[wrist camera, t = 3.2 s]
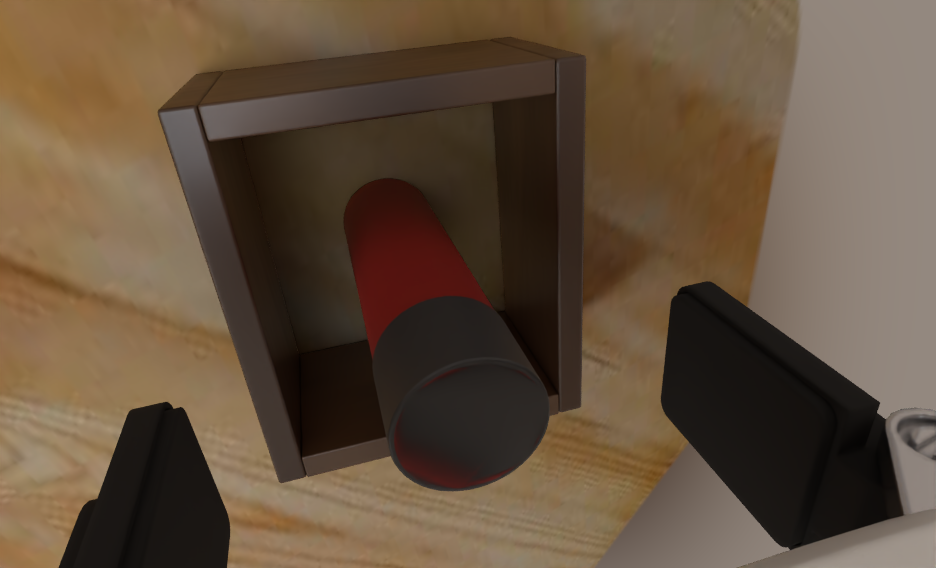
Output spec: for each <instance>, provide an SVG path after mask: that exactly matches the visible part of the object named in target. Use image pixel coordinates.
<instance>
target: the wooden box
mask: <svg viewBox="0 0 936 568" xmlns="http://www.w3.org/2000/svg"><path fill="white" fill-rule="evenodd" d="M585 98H586V57H585V56H584V55H581V54H577V53H573V52H569V51H565V50H561V49H557V48H553V47H549V46H544V45H540V44H536V43H532V42H528V41H524V40H520V39H516V38H512V37H506V38H498V39H492V40H490V41H489V40H480V41H472V42H463V43H455V44H447V45H438V46H430V47H421V48H413V49H404V50H396V51H388V52H379V53H371V54H362V55H354V56H345V57H337V58H329V59H320V60H312V61H303V62H295V63H286V64H278V65H270V66H261V67H253V68H244V69H236V70H227V71H224V72H223V73H222V72H220V71H219V72H211V73H203V74H196V75H195V76H194V77H193V78H191V79H190V80H189V81H188V82H187V83H186V84H185V85H184V86H183V87H182V88H181V89H180V90H179V91H178V92H177V93H176V94H175V95H174V96H173V97H172V98H171V99H169V100H168V101H167V102H166V103H165V104H164V105H163V106H162V107H161V108H160V109H159V110H158V116H159V119H160V122H161V125H162V128H163V131H164V134H165V137H166V141H167V144H168V147H169V150H170V153H171V156H172V159H173V162H174V165H175V168H176V171H177V174H178V177H179V180H180V183H181V186H182V189H183V192H184V195H185V198H186V201H187V204H188V207H189V210H190V213H191V216H192V219H193V222H194V225H195V228H196V231H197V234H198V237H199V241H200V244H201V247H202V250H203V253H204V256H205V259H206V262H207V265H208V268H209V271H210V274H211V277H212V280H213V283H214V286H215V289H216V292H217V295H218V298H219V301H220V304H221V307H222V310H223V313H224V316H225V319H226V322H227V325H228V328H229V331H230V334H231V337H232V340H233V344H234V347H235V350H236V353H237V356H238V359H239V362H240V365H241V368H242V371H243V374H244V377H245V380H246V383H247V386H248V389H249V392H250V395H251V398H252V401H253V404H254V407H255V410H256V413H257V416H258V419H259V422H260V425H261V428H262V431H263V434H264V437H265V440H266V443H267V447H268V450H269V453H270V456H271V459H272V462H273V465H274V468H275V471H276V474H277V477H278V480H279V482H280V483H284V482H288V481H292V480H296V479H300V478H304V477H306V475H307V476H308V477H310V476H314V475H318V474H321V473H325V472H329V471H333V470H337V469H341V468H345V467H349V466H353V465H357V464H361V463H365V462H369V461H373V460H377V459H381V458H385V457H389V456H391V455H390V452H389V448H388V443H387V439H386V434H385V429H384V424H383V419H382V414H381V410H380V405H379V400H378V395H377V390H376V386H375V381H374V376H373V368H372V363H373V360H372V355H371V351H370V346H369V341H368V340H367V341H362V342H357V343H353V344H348V345H343V346H339V347H334V348H329V349H324V350H320V351H315V352H310V353H306V354H301V355H300V357H299V353H298V349H297V346H296V342H295V338H294V334H293V331H292V327H291V323H290V319H289V316H288V312H287V308H286V305H285V301H284V297H283V293H282V290H281V286H280V282H279V278H278V275H277V271H276V267H275V264H274V260H273V256H272V252H271V249H270V245H269V241H268V237H267V234H266V230H265V226H264V223H263V219H262V215H261V211H260V208H259V204H258V200H257V197H256V193H255V189H254V185H253V182H252V178H251V174H250V170H249V167H248V163H247V159H246V156H245V152H244V148H243V144H242V141H241V138H243V137H250V136H257V135H264V134H271V133H278V132H285V131H293V130H300V129H307V128H314V127H321V126H328V125H335V124H342V123H349V122H357V121H364V120H371V119H378V118H385V117H392V116H399V115H406V114H414V113H421V112H428V111H435V110H442V109H449V108H456V107H463V106H471V105H478V104H485V103H492V102H493V114H494V130H495V147H496V164H497V181H498V197H499V214H500V231H501V248H502V264H503V281H504V298H505V312H504V311H503V312H498V314H499V315H500V317H501V318H502V319H503V321H504V322H505V324H506V325H507V327H508V329H509V330H510V332H511V333H512V335H513V337H514V338H515V340H516V341H517V343H518V345H519V346H520V348H521V349H522V351H523V352H524V354H525V356H526V357H527V359H528V360H529V362H530V364H531V365H532V367H533V368H534V370H535V372H536V373H537V375H538V376H539V378H540V380H541V381H542V383H543V384H544V387H545V389H546V391H547V394H548V398H549V404H550V415H549V416H551V415H555V414H558V413H559V412H564V411H568V410H572V409H576V408H580V407H581V379H582V309H583V239H584V168H585Z"/></svg>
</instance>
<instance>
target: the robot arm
mask: <svg viewBox="0 0 936 568" xmlns="http://www.w3.org/2000/svg"><path fill="white" fill-rule="evenodd" d="M661 404H662V408H663V410H664V412H665V414H666V416H667V417H668V418H669V419H670V421H671V422H672V423H673V424H674V425H675V426H676V428H677V429H678V430H679V431H680V432H681V433H682V434H683V436H684V437H685V438H686V439H687V440H688V441H689V443H690V444H691V445H692V446H693V447H694V448H695V449H696V451H697V452H698V453H699V454H700V455H701V456H702V458H703V459H704V460H705V461H706V462H707V463H708V464H709V466H710V467H711V468H712V469H713V470H714V471H715V472H716V474H717V475H718V476H719V477H720V478H721V479H722V481H723V482H724V483H725V484H726V485H727V486H728V488H729V489H730V490H731V491H732V492H733V493H734V494H735V495H736V497H737V498H738V499H739V500H740V501H741V502H742V504H743V505H744V506H745V507H746V508H747V509H748V511H749V512H750V513H751V514H752V515H753V516H754V517H755V519H756V520H757V521H758V522H759V523H760V524H761V526H762V527H763V528H764V529H765V530H766V531H767V532H768V534H769V535H770V536H771V537H772V538H773V539H774V541H776V543H778V544H779V545H780V546H782V547H788V548H789V549H790V550H789V551H786V552H783V553H780V554H777V555H775V556H772V557H768V558H765V559H763V560H760V561H756V562H753V563H750V564H748V565H744V566H741V567H738V568H936V411H935V410H931V409H921V408H908V409H900V410H898V411H895V412H893V413H891V414H890V416H889V417H888V418H887V419H884V418H883V417H882V416H880V415H879V414H878V413H877V410H878V408H879V404H880V402H879V401H877V400H876V399H874V398H873V397H872V396H870V395H869V394H867V393H866V392H865V391H863V390H862V389H860V388H859V387H858V386H856V385H855V384H854V383H852V382H851V381H849V380H848V379H847V378H845V377H844V376H842V375H841V374H839V373H838V372H837V371H835V370H834V369H833V368H831V367H830V366H828V365H827V364H826V363H824V362H823V361H821V360H820V359H819V358H817V357H816V356H814V355H813V354H812V353H810V352H809V351H807V350H806V349H805V348H803V347H802V346H801V345H799V344H798V343H796V342H795V341H794V340H792V339H791V338H789V337H788V336H787V335H785V334H784V333H782V332H781V331H780V330H778V329H777V328H775V327H774V326H773V325H771V324H770V323H768V322H767V321H766V320H764V319H763V318H762V317H760V316H759V315H757V314H756V313H755V312H753V311H752V310H750V309H749V308H748V307H746V306H745V305H743V304H742V303H741V302H739V301H738V300H736V299H735V298H734V297H732V296H731V295H729V294H728V293H727V292H725V291H724V290H723V289H721V288H720V287H718V286H717V285H716V284H714V283H712V282H702V283H697V284H693V285H688V286H684V287H682V288H680V289H679V291H678V293H677V295H676V296H674V297H673V299H672V301H671V308H670V317H669V327H668V336H667V346H666V355H665V365H664V374H663V383H662V393H661ZM229 540H230V523H229V518H228V514H227V511H226V509H225V506H224V504H223V501H222V499H221V497H220V494H219V492H218V489H217V487H216V484H215V482H214V479H213V477H212V475H211V472H210V470H209V467H208V465H207V462H206V460H205V457H204V455H203V453H202V450H201V448H200V445H199V443H198V440H197V438H196V436H195V433H194V431H193V428H192V426H191V423H190V421H189V418H188V416H187V414H186V412H185V410H184V409H183V408H182V407H180V408H175V409H173V407H172V405H171V404H170V403H168V402H163V403H159V404H154V405H150V406H145V407H141V408H136V409H132V410H131V411H129V413H128V415H127V418H126V420H125V423H124V426H123V429H122V432H121V434H120V437H119V440H118V443H117V446H116V448H115V451H114V454H113V457H112V460H111V462H110V465H109V468H108V471H107V473H106V476H105V479H104V482H103V485H102V487H101V490H100V493H99V496H98V499H95V500H91V501H88V502H87V503H86V504H85V505H84V506H83V508H82V510H81V511H80V513H79V516H78V518H77V521H76V523H75V526H74V529H73V531H72V534H71V537H70V539H69V542H68V544H67V547H66V550H65V552H64V555H63V558H62V560H61V563H60V565H59V568H227V561H228V551H229Z"/></svg>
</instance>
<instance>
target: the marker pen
mask: <svg viewBox="0 0 936 568" xmlns="http://www.w3.org/2000/svg"><path fill="white" fill-rule="evenodd" d="M344 229H345V234H346V239H347V243H348V248H349V253H350V257H351V262H352V267H353V271H354V276H355V281H356V285H357V290H358V295H359V299H360V304H361V309H362V313H363V318H364V323H365V327H366V332H367V337H368V341H369V346H370V351H371V355H372V360H373V363H372V368H373V376H374V381H375V386H376V390H377V395H378V400H379V405H380V410H381V414H382V419H383V424H384V429H385V434H386V439H387V443H388V448H389V452H390V455H391V457H392V459H393V461H394V463H395V465H396V466H397V467H398V469H399V470H400V471H401V472H402V473H403V474H404V475H405V476H406V477H407V478H409V479H410V480H412V481H413V482H415V483H417V484H419V485H421V486H424V487H427V488H430V489H434V490H439V491H463V490H470V489H474V488H479V487H482V486H485V485H488V484H490V483H493V482H495V481H497V480H499V479H501V478H503V477H505V476H507V475H508V474H510V473H511V472H513V471H514V470H515V469H517V468H518V467H519V466H520V465H522V464H523V463H524V462H525V461H526V460H527V459H528V458H529V457H530V456H531V454H532V453H533V452H534V451H535V450H536V448H537V447H538V445H539V444H540V442H541V440H542V438H543V436H544V434H545V432H546V429H547V426H548V421H549V415H550V404H549V398H548V394H547V391H546V389H545V387H544V384H543V383H542V381H541V380H540V378H539V376H538V375H537V373H536V372H535V370H534V368H533V367H532V365H531V364H530V362H529V360H528V359H527V357H526V356H525V354H524V352H523V351H522V349H521V348H520V346H519V345H518V343H517V341H516V340H515V338H514V337H513V335H512V333H511V332H510V330H509V329H508V327H507V325H506V324H505V322H504V321H503V319H502V318H501V317H500V315H499V314H498V313H497V312H496V311H495V310H494V309H493V307H492V306H491V304H490V302H489V301H488V299H487V297H486V296H485V294H484V293H483V291H482V289H481V288H480V286H479V285H478V283H477V281H476V280H475V278H474V276H473V275H472V273H471V272H470V270H469V268H468V267H467V265H466V264H465V262H464V260H463V259H462V257H461V255H460V254H459V252H458V251H457V249H456V247H455V246H454V244H453V243H452V241H451V239H450V238H449V236H448V234H447V233H446V231H445V230H444V228H443V226H442V225H441V223H440V222H439V220H438V218H437V217H436V215H435V213H434V212H433V210H432V209H431V207H430V205H429V204H428V202H427V201H426V199H425V197H424V196H423V195H422V193H421V192H420V191H419V190H418V189H417V188H415V187H414V186H412V185H411V184H409V183H407V182H405V181H402V180H398V179H380V180H375V181H373V182H370V183H368V184H366V185H364V186H363V187H361V188H360V189H359V190H358V191H357V192H355V194H354V195H353V196H352V197H351V199H350V200H349V202H348V204H347V206H346V209H345V213H344Z"/></svg>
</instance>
